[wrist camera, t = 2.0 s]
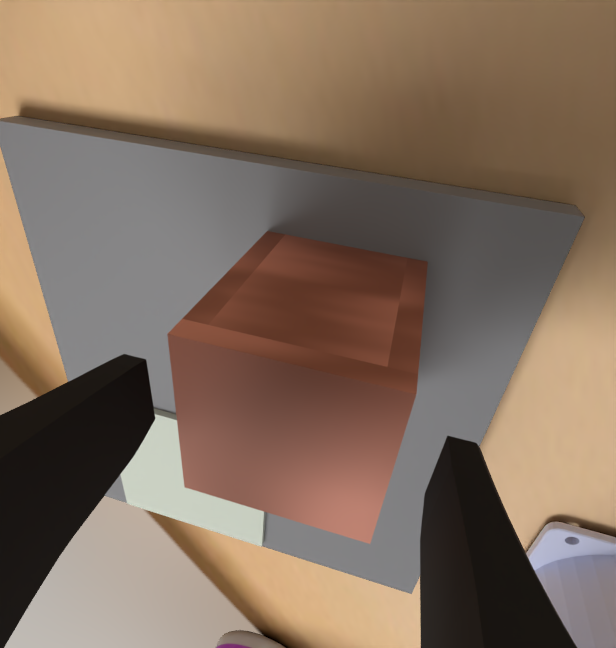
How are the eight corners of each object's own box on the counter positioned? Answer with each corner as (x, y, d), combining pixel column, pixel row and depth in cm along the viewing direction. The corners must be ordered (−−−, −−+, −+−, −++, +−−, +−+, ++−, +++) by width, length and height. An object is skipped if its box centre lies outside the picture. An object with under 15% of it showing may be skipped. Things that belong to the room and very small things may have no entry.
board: (575, 205, 12) (665, 315, 7) (412, 574, 23) (403, 716, 18) (17, 115, 15) (-191, 149, 10) (111, 480, 26) (34, 580, 21)
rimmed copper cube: (427, 261, 13) (416, 394, 8) (393, 388, 16) (370, 544, 11) (266, 230, 14) (167, 333, 9) (262, 356, 16) (184, 487, 12)
